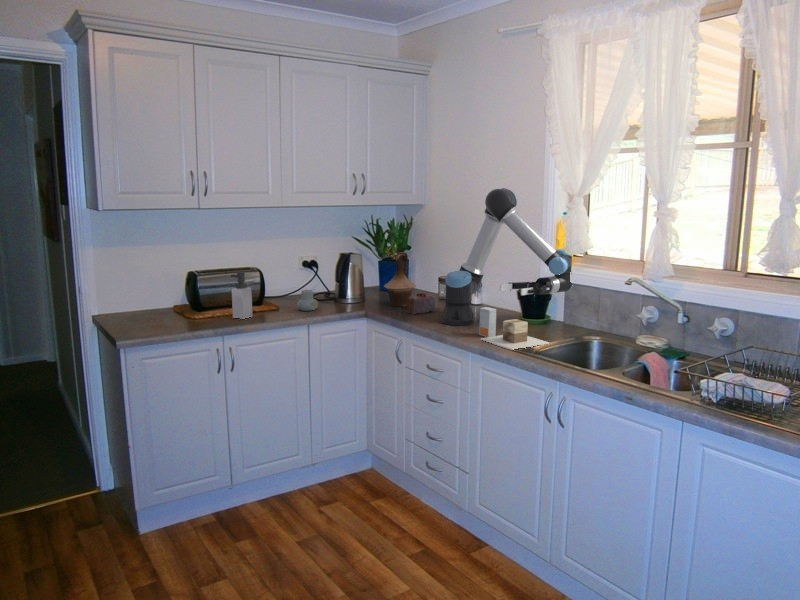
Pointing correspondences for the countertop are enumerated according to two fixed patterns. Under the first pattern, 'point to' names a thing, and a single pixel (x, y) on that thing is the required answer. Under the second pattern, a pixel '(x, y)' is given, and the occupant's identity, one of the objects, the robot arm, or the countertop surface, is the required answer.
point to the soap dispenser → (241, 298)
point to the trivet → (511, 346)
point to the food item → (420, 303)
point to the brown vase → (400, 282)
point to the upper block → (515, 326)
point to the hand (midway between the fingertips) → (510, 289)
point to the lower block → (515, 337)
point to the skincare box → (487, 322)
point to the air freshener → (307, 301)
